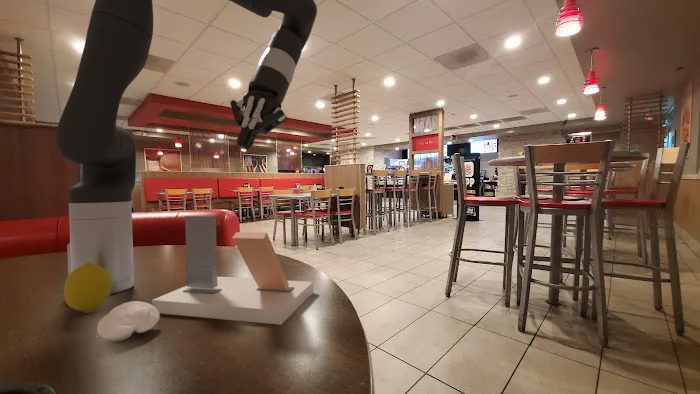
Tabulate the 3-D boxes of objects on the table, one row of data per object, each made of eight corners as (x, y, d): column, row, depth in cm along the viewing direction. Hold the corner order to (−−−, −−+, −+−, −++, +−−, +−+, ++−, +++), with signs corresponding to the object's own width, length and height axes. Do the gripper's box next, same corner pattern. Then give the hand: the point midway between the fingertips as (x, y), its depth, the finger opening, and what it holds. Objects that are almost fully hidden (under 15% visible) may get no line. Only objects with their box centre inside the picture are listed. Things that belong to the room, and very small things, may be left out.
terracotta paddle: (259, 288, 49) (232, 237, 42) (262, 282, 50) (236, 232, 43) (286, 290, 48) (263, 238, 41) (288, 284, 49) (266, 232, 42)
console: (152, 312, 45) (151, 298, 45) (210, 285, 58) (209, 275, 58) (281, 324, 40) (281, 309, 40) (313, 292, 53) (313, 280, 53)
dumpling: (141, 323, 42) (140, 296, 42) (168, 327, 40) (168, 299, 40) (84, 348, 35) (83, 316, 35) (115, 354, 34) (114, 321, 33)
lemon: (84, 307, 48) (83, 259, 48) (120, 305, 48) (118, 258, 48) (53, 321, 42) (51, 268, 42) (93, 319, 43) (92, 266, 43)
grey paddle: (187, 286, 49) (185, 216, 49) (192, 284, 50) (190, 215, 50) (212, 288, 48) (210, 216, 47) (217, 286, 49) (215, 215, 49)
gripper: (238, 59, 60) (203, 131, 56) (295, 69, 57) (263, 145, 53) (254, 83, 67) (225, 149, 63) (306, 92, 64) (278, 162, 60)
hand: (242, 147), depth 58 cm, fingers closed
